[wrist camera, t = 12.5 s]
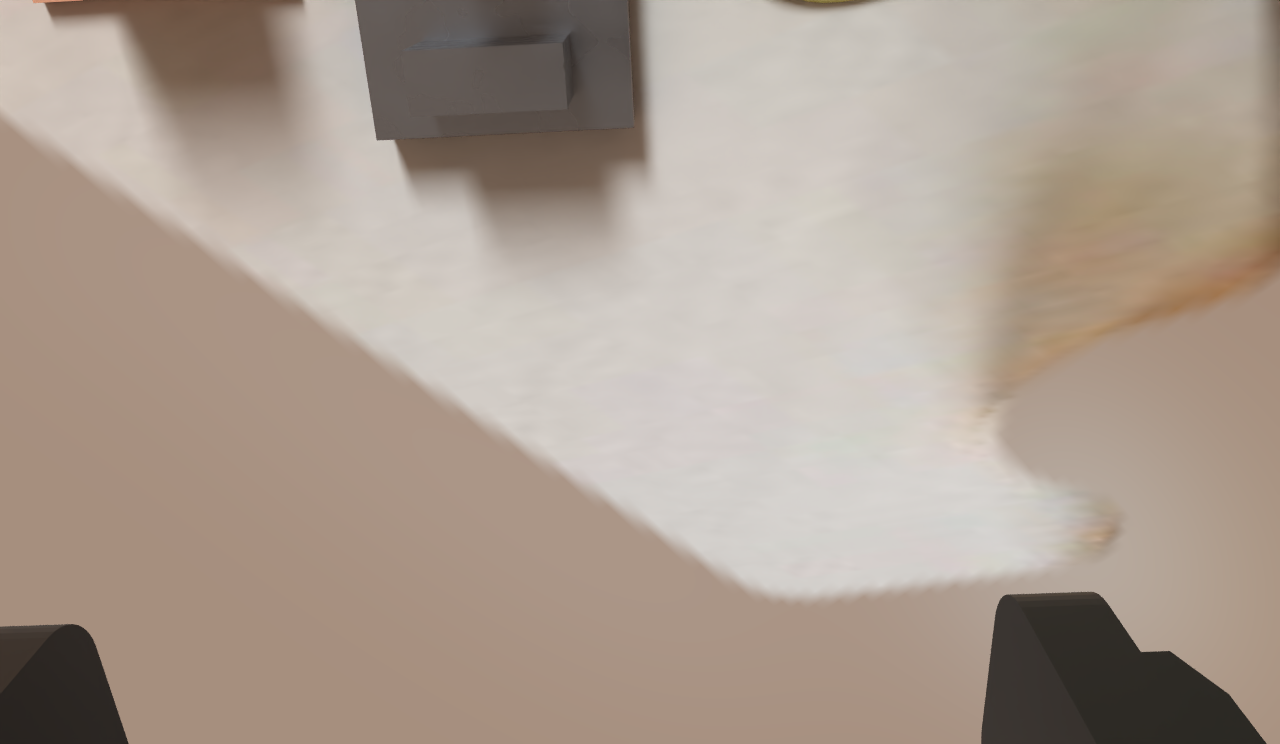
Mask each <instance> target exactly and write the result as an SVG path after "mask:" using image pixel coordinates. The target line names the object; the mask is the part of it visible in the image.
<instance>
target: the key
mask: <svg viewBox="0 0 1280 744" xmlns="http://www.w3.org/2000/svg"><path fill="white" fill-rule="evenodd" d="M804 1H808V2H818V3H831V2H844V1H852V0H804Z"/></svg>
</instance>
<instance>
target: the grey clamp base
mask: <svg viewBox="0 0 1280 744" xmlns="http://www.w3.org/2000/svg"><path fill="white" fill-rule="evenodd" d="M355 3H356V10H357V16H358V22H359V29H360V35H361V42H362V48H363V55H364V61H365V67H366V74H367V80H368V87H369V93H370V100H371V106H372V112H373V119H374V125H375V132H376V138H377V140H394V139H414V138H434V137H454V136H474V135H495V134H515V133H535V132H555V131H575V130H595V129H616V128H634V101H633V81H632V61H631V42H630V22H629V3H628V0H355Z"/></svg>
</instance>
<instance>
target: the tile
mask: <svg viewBox="0 0 1280 744" xmlns="http://www.w3.org/2000/svg"><path fill="white" fill-rule="evenodd" d="M62 1H81V0H33V3H43V2H62Z"/></svg>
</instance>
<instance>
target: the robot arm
mask: <svg viewBox="0 0 1280 744" xmlns="http://www.w3.org/2000/svg"><path fill="white" fill-rule="evenodd" d="M981 738H982V740H981V744H1266V742H1265V741H1264V740H1263V739H1262V737H1261V736H1260V735H1259V733H1258V732H1257V731H1256V729H1255V728H1254V727H1253V725H1252V724H1251V723H1250V721H1249V720H1248V719H1247V718H1246V716H1245V715H1244V714H1243V712H1242V711H1241V710H1240V709H1239V707H1238V706H1237V705H1236V703H1235V702H1234V700H1233V699H1232V698H1231V696H1230V695H1229V694H1228V693H1226V692H1225V691H1224V690H1222V689H1221V688H1219V687H1218V686H1217V685H1215V684H1214V683H1212V682H1211V681H1210V680H1208V679H1207V678H1206V677H1204V676H1203V675H1202V674H1200V673H1199V672H1198V671H1196V670H1195V669H1193V668H1192V667H1191V666H1189V665H1188V664H1187V663H1185V662H1184V661H1183V660H1181V659H1180V658H1179V657H1177V656H1176V655H1174V654H1173V653H1172V652H1170V651H1161V652H1140V650H1139V649H1138V647H1137V646H1136V644H1135V643H1134V642H1133V640H1132V639H1131V637H1130V636H1129V634H1128V633H1127V631H1126V630H1125V628H1124V627H1123V625H1122V624H1121V623H1120V621H1119V620H1118V618H1117V617H1116V615H1115V614H1114V612H1113V611H1112V609H1111V608H1110V606H1109V605H1108V604H1107V602H1106V601H1105V600H1104V599H1103V598H1102V597H1101V596H1100V595H1099V594H1097V593H1094V592H1071V593H1046V594H1045V593H1042V594H1014V595H1005V596H1003V597H1002V598H1001V600H1000V601H999V604H998V606H997V610H996V615H995V623H994V631H993V639H992V648H991V656H990V664H989V673H988V681H987V690H986V698H985V707H984V715H983V724H982V737H981ZM0 744H128V741H127V738H126V735H125V732H124V729H123V726H122V723H121V720H120V717H119V714H118V711H117V708H116V705H115V702H114V699H113V696H112V693H111V690H110V687H109V684H108V681H107V678H106V675H105V672H104V669H103V666H102V663H101V660H100V657H99V654H98V652H97V648H96V646H95V643H94V641H93V639H92V637H91V636H90V634H89V633H88V632H87V631H86V630H85V629H84V628H82V627H81V626H79V625H74V624H65V625H39V626H37V625H36V626H8V627H0Z"/></svg>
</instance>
